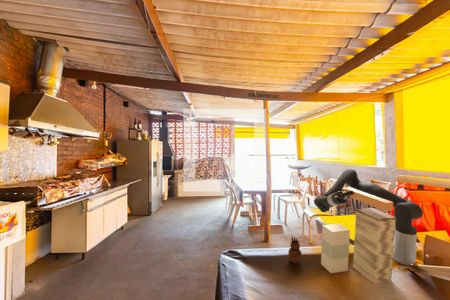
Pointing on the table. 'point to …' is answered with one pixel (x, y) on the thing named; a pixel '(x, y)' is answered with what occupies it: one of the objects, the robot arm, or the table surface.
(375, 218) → the stand
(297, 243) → the wooden figurine
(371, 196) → the beam
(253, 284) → the table surface
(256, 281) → the table surface
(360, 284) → the table surface
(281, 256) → the table surface
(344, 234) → the tower
